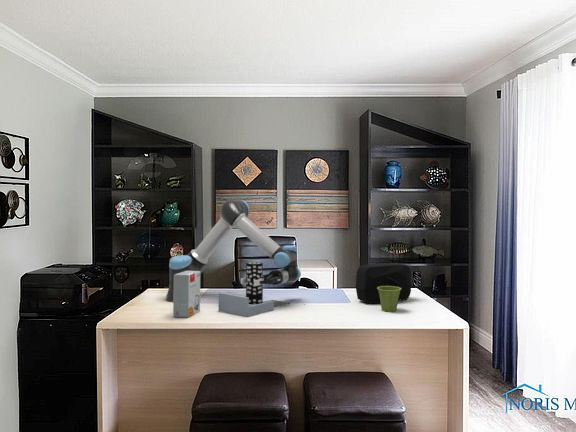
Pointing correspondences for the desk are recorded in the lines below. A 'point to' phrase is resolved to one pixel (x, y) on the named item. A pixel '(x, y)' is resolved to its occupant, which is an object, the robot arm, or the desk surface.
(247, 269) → the spotted tube
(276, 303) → the mat
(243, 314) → the bay
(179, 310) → the hard drive box
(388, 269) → the black hard case
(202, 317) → the desk surface
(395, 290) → the plant pot
